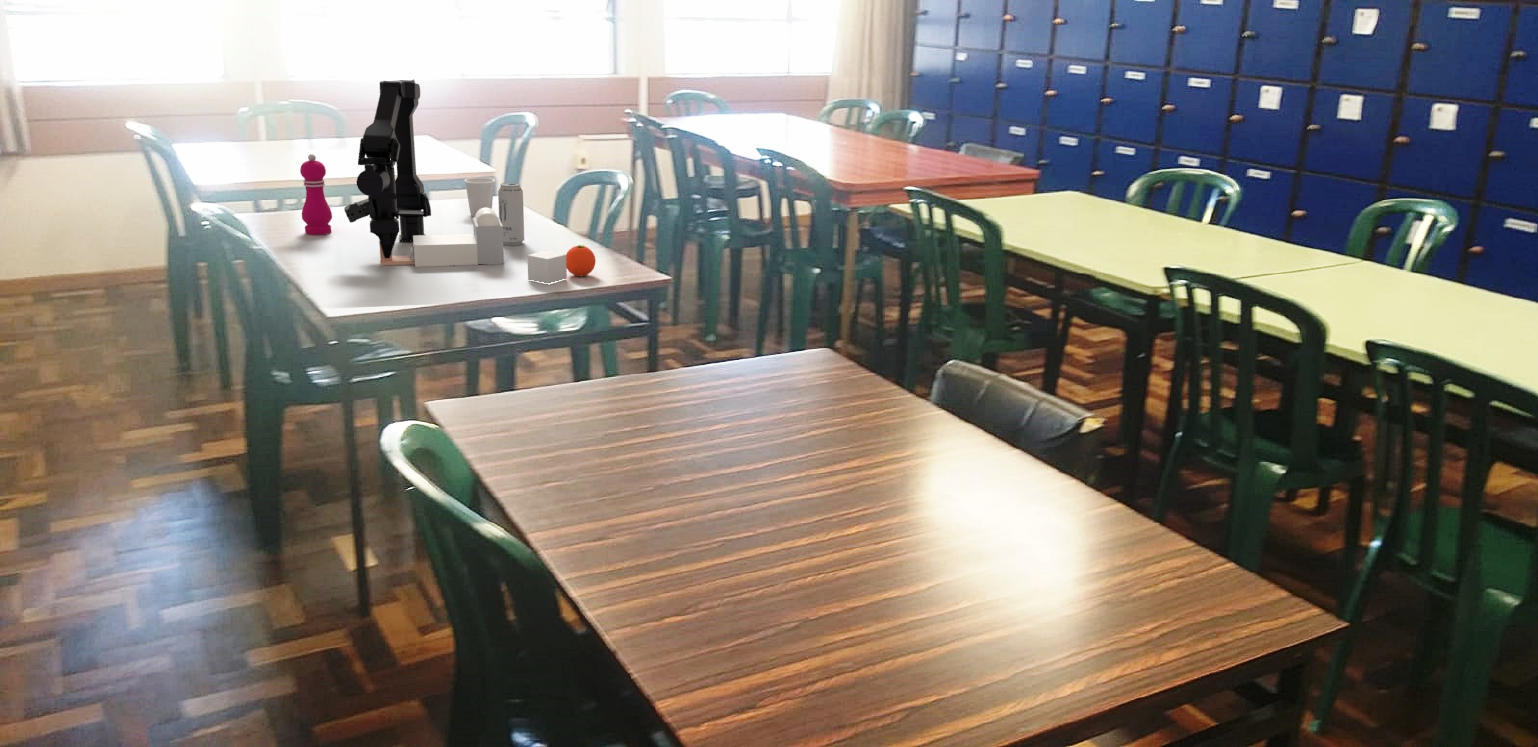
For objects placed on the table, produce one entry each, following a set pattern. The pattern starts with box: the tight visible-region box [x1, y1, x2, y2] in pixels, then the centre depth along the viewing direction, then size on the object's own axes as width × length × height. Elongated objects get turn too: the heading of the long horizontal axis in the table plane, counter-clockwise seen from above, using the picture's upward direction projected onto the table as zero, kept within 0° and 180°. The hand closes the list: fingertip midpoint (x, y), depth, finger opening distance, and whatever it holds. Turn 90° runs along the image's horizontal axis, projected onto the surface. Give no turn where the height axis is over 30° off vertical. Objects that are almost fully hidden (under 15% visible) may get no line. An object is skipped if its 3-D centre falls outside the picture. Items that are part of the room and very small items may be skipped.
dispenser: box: [409, 207, 505, 268], centre depth 271 cm, size 11×21×12 cm, turn 107°
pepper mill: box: [300, 153, 333, 236], centre depth 292 cm, size 7×7×20 cm
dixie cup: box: [463, 176, 496, 218], centre depth 324 cm, size 8×8×10 cm
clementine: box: [565, 244, 596, 277], centre depth 262 cm, size 8×7×7 cm
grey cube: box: [527, 250, 568, 283], centre depth 256 cm, size 6×6×6 cm
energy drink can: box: [497, 182, 525, 247], centre depth 290 cm, size 6×6×15 cm
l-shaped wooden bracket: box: [379, 240, 415, 266], centre depth 269 cm, size 6×14×5 cm, turn 107°
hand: (387, 255), depth 267 cm, fingers closed on l-shaped wooden bracket, 4 cm apart
